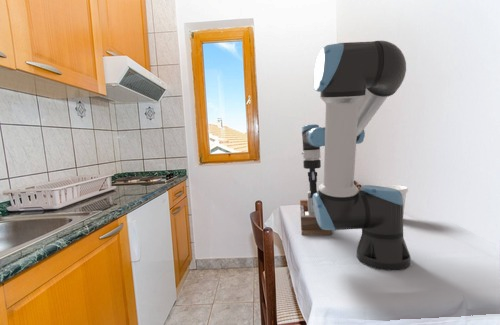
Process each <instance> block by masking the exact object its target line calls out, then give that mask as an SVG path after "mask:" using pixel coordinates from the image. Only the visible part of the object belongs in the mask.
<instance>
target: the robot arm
mask: <svg viewBox="0 0 500 325" xmlns="http://www.w3.org/2000/svg"><path fill="white" fill-rule="evenodd" d="M406 73H407V62H406V57H405V56H404V53H403V52H402V50H401V49H400V48H399V47H398V46H397V45H396V44H394V43H392V42H390V41H388V40H387V41H386V40H375V41H355V42H354V41H352V42H339V43H332V44H327V45H325V46H323V47H322V49H320V52H319V53H318V56H317V59H316V62H315V67H314V74H313V86H314V90H315V91H316V92H318V93H320V96H319V97H320V99H321V100H322V101H323V102H324V103H325V121H324V122H325V123H324V124H325V125H324V126H325V127H324V126H323V127H320V126H319V124H314V123H313V124H306V125H303V126H302V127H301V130H302V131H301V136H302V151H303V152H301V155H302V156H303V159H304V160H302V161H303V168H304V169H307V170H309V171H307V177H308V183H309V191H311V197H309V198H311V212H315V216H316V220H317V222H318V225H319V226H320V228H321V229H323V230H331V231H334V232H335V231H340V230H341V231H342V230H361V235H360V238H359V241H358V244H357V247H356V258H357V260H358V261H359V262H360V263H362V264H363V265H366V266H368V267H371V268H374V269H378V270H383V271H401V270H405V269H408V268H410V266H411V263H412V262H411V255H410V252H409V248H408V246H407V244H406V241H405V239H404V215H403V206H404V204H403V197H402V193H401V192H400V191H398V190H396V189H393V188H388V187H382V186H381V185H371V184H370V185H369V184H368V185H367V184H365V185H364V184H363V185H361V186H360V188H358V187H357V186H356V184H354V182H355V165H356V151H357V145H358V144H359V145H360V144H361V143H363V142H364V139H365V137H366V136H365V132H366V131H365V128H366V127H367V126H368V124H369V123H370V121H371V120H372V119H373V117H374V116H375V115H376V113H377V112H378V111H379V109H380V107H381V106H382V105H383V104H384V102H385V101H386V100H387V99H388V97H391V96H393V95H394V94H396V92H397V90H399V88H400V87H401V86H402V83H403V82H404V80H405V77H406ZM321 147H324V155H323V156H324V162H323V164H324V165H323V182H322V183H320V184H319V186H317V182H318V172H317V171H316V169H320V168H321V167H322V166H321V165H322V164H321V163H322V162H321V161H322V160H321ZM317 187H318V189H317ZM317 191H319V192H318V193H317ZM404 207H405V206H404Z"/></svg>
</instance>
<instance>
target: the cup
mask: <svg viewBox="0 0 500 325" xmlns="http://www.w3.org/2000/svg"><path fill="white" fill-rule="evenodd" d="M380 186H382V187H388V188H393V189H396V190H398V191H400V192H401V193H402V197H403V204H404V206H403V216H404V213H405V205H406V204H405V203H406V197H407V196H406V195H407V193H408V192H409V191H408V190H409V188H408V187H407V186H403V185H398V184H396V185H395V184H394V185H393V184H384V185H380Z"/></svg>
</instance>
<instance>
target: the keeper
mask: <svg viewBox="0 0 500 325" xmlns="http://www.w3.org/2000/svg"><path fill="white" fill-rule="evenodd" d="M318 192H319V190H317V193H318ZM309 197H311V191H310V190H307V200H308V212H305V216H315V212H311V198H309Z"/></svg>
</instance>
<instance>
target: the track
mask: <svg viewBox="0 0 500 325" xmlns="http://www.w3.org/2000/svg"><path fill="white" fill-rule="evenodd" d="M299 201H300V202H299V203H300V204H299V206H300V232H301V235H302V236H303V235H305V236H306V235H307V236H310V235H311V236H332V230H323V229H321V228H320V226H319V225H318V222H317V220H316V216H305V212H308V199H299Z"/></svg>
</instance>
